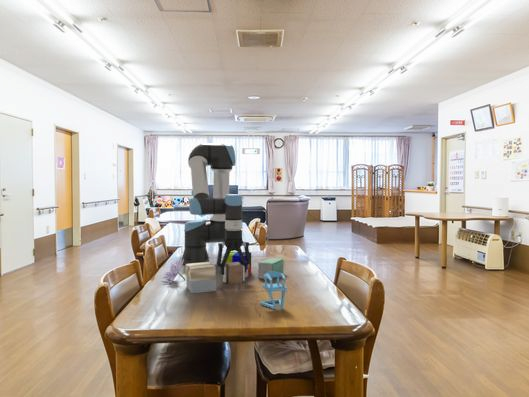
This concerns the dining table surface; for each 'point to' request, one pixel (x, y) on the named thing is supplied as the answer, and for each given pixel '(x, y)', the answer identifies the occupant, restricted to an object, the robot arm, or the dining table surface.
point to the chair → (274, 289)
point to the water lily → (174, 271)
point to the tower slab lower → (201, 285)
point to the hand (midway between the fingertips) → (233, 281)
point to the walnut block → (233, 272)
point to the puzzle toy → (239, 260)
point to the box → (270, 266)
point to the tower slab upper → (200, 271)
